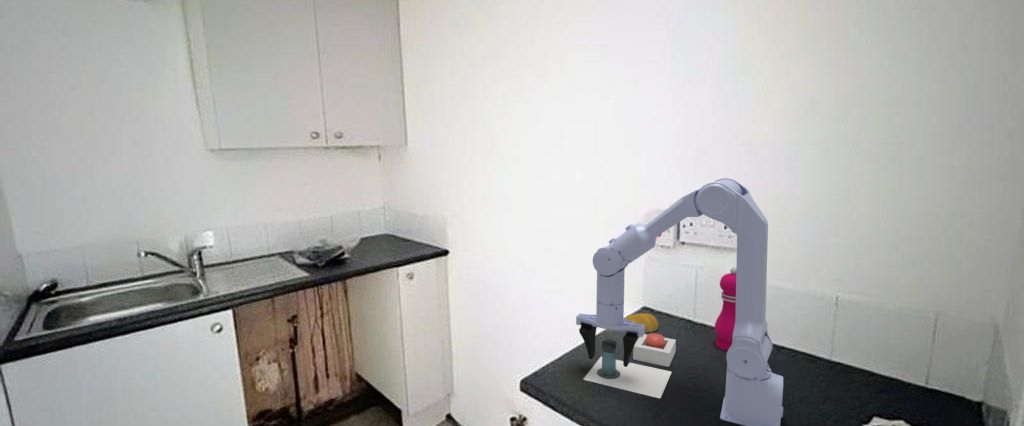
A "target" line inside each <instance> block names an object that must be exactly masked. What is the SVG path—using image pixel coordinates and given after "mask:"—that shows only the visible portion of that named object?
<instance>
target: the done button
mask: <svg viewBox="0 0 1024 426" xmlns="http://www.w3.org/2000/svg"><path fill="white" fill-rule="evenodd" d="M646 334H647V335H646V346H650V347H655V348H660V349H664V338H665V336H663V335H662V334H660V333H656V332H655V333H653V332H649V333H646Z"/></svg>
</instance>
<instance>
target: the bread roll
mask: <svg viewBox="0 0 1024 426" xmlns="http://www.w3.org/2000/svg"><path fill="white" fill-rule="evenodd" d="M624 319H626V320H629V321H632V322H635V323H638V324H642V325H645V334H649V333H653V332H656V331H658V328H659V322H658V320H657V318H656V317H655V316H654V315H652V314H651V313H646V312H644V313H636V314H628V315H626V316H625V317H624Z"/></svg>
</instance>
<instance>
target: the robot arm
mask: <svg viewBox="0 0 1024 426" xmlns="http://www.w3.org/2000/svg"><path fill="white" fill-rule="evenodd" d="M703 215H704V216H706V217H708V218H709V219H712V220H714V221H717V222H719V223H721V224H723V225H725V227H727V228H728V229H730V231H731V232H733V233H734V234H735V235H736V267H735V268H736V320H735V326H734V331H733V341H732V345H731V347H730V348H729V350H728V351H726V363H727V364H726V365H727V366H726V379H725V380H726V381H725V394H724V397H723V401H722V404H721V405H722V407H721V411H720V416H719V418H720V420H721V421H726V422H730V423H733V424H737V425H741V426H781V419H782V418H783V417H784V406H783V397H784V396H783V395H784V394H783V393H784V377H783V375H779V374H776V373H774V372H772V369H771V368H770V365H769V362H768V360H769V358H770V355H771V353H772V351H773V348H774V347H773V341H772V339H771V337H770V335H769V331H768V322H767V319H766V315H767V314H766V312H767V309H766V307H767V282H768V281H767V279H768V277H767V274H768V273H767V272H768V270H767V269H768V242H769V240H768V238H769V223H768V220H767V217H765V215H764V213H763V212H762V210H761V208H760V207H759V206H758V205H757V203H756V201H755V200H754V198H753V197H752V195H751V192H750V191H749V188H746V186H744V185H742V184H741V183H739V182H738V181H737V180H735V179H733V178H729V177H725V178H718V179H716V180H715V181H711V182H708V183H706V184H704V185H702V186H701V187H700V188H698V189H695V190H693V191H691V192H690V193H688V194H686V195H684V196H682V197H681V198H679V199H678V200H677V201H675V202H674V203H673V204H671V205H670V206H669V207H667V208H666V209H665V210H663V211H662V212H661V213H659V215H657V216H656V217H655V218H653V219H652V220H651V221H649V222H648V223H647V224H645V223H635V224H633V223H631V224H629V225H627V226H626V227H625V230H626V231H624V232H623V233H621V235H619V236H618V237H616V238H614V237H613V238H611V239H610V240H608V243H609V244H608V245H606V246H604V247H603V246H602V247H600V248H598V250H596V252H595V253H594V254H593V256H592V264H593V268H594V270H595V271H596V305H595V306H596V311H595V312H596V314H585V313H579V314H577V315H576V316H575V317H576V318H575V323H576V325H577V326H580V328H578V332H579V334H580V336H581V337H582V340H583V342H584V344H585V347H586V350H587V354H588V359H589V360H593V358H594V357H595V356H596V336H597V335H596V334H597V328H600V329H604V330H610V331H615V332H620V333H621V332H622V333H625V334H624V336H623V337H622V344H623V359H622V361H623V365H624V367H627V366H628V364H629V363H630V362H631V361H630V360H631V356H632V354H633V348H634V345H635V343H636V342H637V340H638V339H639V337H643V336H644V334H646V333H645V325H642V324H638V323H635V322H632V321H629V320H626V319H625V317H624V315H625V311H624V310H625V271H626V267H628V265H629V264H631V263H633V262H634V261H636V260H637V259H639V258H640V257H641V256H643V255H644V254H646V253H648V252H649V251H650V250H652V249H653V248H655V246H656V243H657V242H656V241H657V238H658V237H659V236H660V235H662V234H663V233H665V232H666V231H668V230H670V229H671V228H673V227H674V226H676V225H677V224H679V223H680V222H682V221H683V220H685V219H686V218H699V217H701V216H703Z"/></svg>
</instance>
